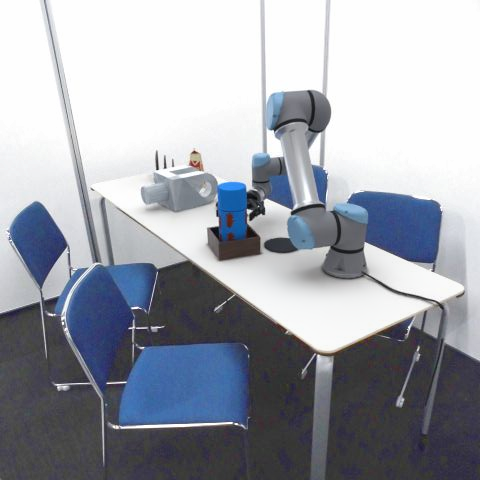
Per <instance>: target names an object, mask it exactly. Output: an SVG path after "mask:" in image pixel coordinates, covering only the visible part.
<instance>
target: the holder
mask: <svg viewBox="0 0 480 480" xmlns="http://www.w3.org/2000/svg"><path fill="white" fill-rule="evenodd" d="M206 233H207V235H206V236H207V245H208V246H209V248H210V249H211V250H212V253H214V255H215V257H216V258H217V259H218V261H225V260H232V259H239V258H244V257H245V258H246V257H251V256H256V255H257V256H258V255H261V254H262V252H261V250H262V245H261V244H262V242H261V241H262V237H261V236H260V235H259V234H258V233H257V231H256V230H255V229H253V227H252V226H251V225H250V224H249V222H247V238H246V239H239V240H232V241H226V242H220V240H219V225H216V226H209V227H208V226H207V227H206Z"/></svg>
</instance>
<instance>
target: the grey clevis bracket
mask: <svg viewBox="0 0 480 480" xmlns="http://www.w3.org/2000/svg"><path fill="white" fill-rule="evenodd" d="M153 180H154V183H153V184H149V185H144V186H141V187H140V196H141V200H142V202H143V203H144V204H145V205H146V206H149V205H154V204H157V203H158V204H160V205H161V206H164V207H165V208H168V209H170V210H171V211H173V212H175V213H177V212H181V211H185V210H190V209H193V208H196V207H202V206H205V205H209V204H210V203H212V202H213V201H214V200H215V198H216V196H217V187H218V185H219V183H218V180H217V178H216V177H215V175H213V174H212V173H210V172H208V171H205V170H204V171H199V170H198V169H197V168H195V167H192V166H189V164H182V165H177V166H174V167H172V166H171V167H167V169H164V168H163V169H159V170H157V171H156V170H153ZM203 182H205V184H206V185H205V187H204V188H205V189H204V190H203V191H202V188H203V187H202V186H203ZM201 191H202V192H201ZM200 192H201V193H200Z"/></svg>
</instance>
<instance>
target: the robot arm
mask: <svg viewBox="0 0 480 480" xmlns="http://www.w3.org/2000/svg"><path fill="white" fill-rule="evenodd" d="M264 118H265V119H264V120H265V121H264V122H265V126H266V128H267V130H268V131H271V132H273V134H274V138H275V139H277V140H278V141H279V142H280V146H281V151H282V156H276V157H275V156H274V157H271V154H269V153H267V152H256V153H254V154H253V155H252V157H251V188H249V189H248V190H247V211H248V210H249V211H251V212H249V213H248V221H249V222H252V221H253V220H254V219H255V218H258V217H259V216H261V215H262V216H266V207H265V200H266V199H268V198H269V197H270V196H271V194H272V192H273V185H272V183H271V182H270V180H271V179H270V178H271V177H278V176H287V180H288V185H289V189H290V190H289V191H290V195H291V199H292V205H293V207H292V209H291V211H290V216H288V218H287V221H286V226H287V228H286V231H287V234H288V235H287V236H288V238H290V240H291V242H292V244H293V245H294V246H295V247H296V248H297V249H298V251H299V250H300V251H304V250H308V251H309V250H314V249H320V248H326V247H329V249H328V251H327V253H325V259H324V260H323V265H322V269H323V271H324V272H325V274H327V275H329V276H331V277H334V278H338V279H357V278H360V277H362V276H366V277H368V278H369V279H371V280H373V281H375V282H377V283H378V284H380V285H381V286H383V287H385V288H386V289H388V290H389V291H392V292H394V293H397V294H400V295H404V296H409V297H414V298H417V299H421V300H424V301H428V302H432V303H435V304H437V305H438V306H439V307H440V308H441V309H442V310H445V307H444V305H442V303H441V302H439V301H438V300H436V299H432V298H428V297H425V296H422V295H417V294H413V293H408V292H403V291H400V290H397V289H394V288H392V287H390V286H389V285H387V284H385V283H383V282H382V281H381V280H379V279H377V278H376V277H374V276H372V275H370V274H368V273H366V272H367V267H368V265H367V260H366V255H365V244H366V236H367V229H368V224H369V213H368V210H367V209H366V208H364V207H362V206H360V205H357V204H354V203H347V202H339V203H335V204H334V205H333V207H332V210H327V209H326V205H325V203H323V202H322V201H320V199H319V195H318V188H317V184H316V179H315V174H314V169H313V165H312V160H311V156H310V149H311V148H312V145H314V143H315V141H316V140H317V138H318V136H319V135H320V134H321V133H323V132H324V131H325V130H326V129H327V128H328V126H329V124H330V121H331V119H332V107H331V102H330V101H329V99H328V97H327V96H326V95H325V94H324V93H322V92H321V91H318V90H316V89H307V90H305V89H304V90H291V91H288V90H287V91H284V90H281V91H277V92H272V93H271V94H270V95H269V97H268V99H267V101H266V106H265V115H264ZM215 215H216V216H215V218H218V203H217V207H216V209H215ZM443 345H444V338H443V337H442V338H440V345H439V350H438V354H437V358H436V362H435V365H434V369H433V372H432V376H431V379H430V382H429V386H428V390H427V394H426V397H425V402H424V407H427V405H428V401H429V397H430V394H431V390H432V387H433V383H434V380H435V376H436V373H437V370H438V365H439V363H440V359H441V354H442V350H443Z"/></svg>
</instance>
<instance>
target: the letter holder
mask: <svg viewBox="0 0 480 480" xmlns="http://www.w3.org/2000/svg"><path fill="white" fill-rule="evenodd" d="M154 156H155V158H154V160H155V161H154V162H155V163H154V164H155V171H157V170H160V164H159V152H158V149H156V150H155V155H154ZM172 167H175V162H174V158H172V159H171V168H172ZM167 168H168V167H167V155H166V154H164V156H163V169H167Z"/></svg>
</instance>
